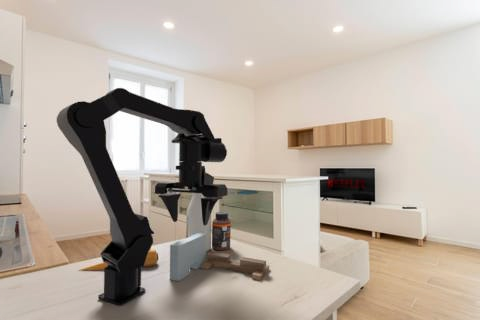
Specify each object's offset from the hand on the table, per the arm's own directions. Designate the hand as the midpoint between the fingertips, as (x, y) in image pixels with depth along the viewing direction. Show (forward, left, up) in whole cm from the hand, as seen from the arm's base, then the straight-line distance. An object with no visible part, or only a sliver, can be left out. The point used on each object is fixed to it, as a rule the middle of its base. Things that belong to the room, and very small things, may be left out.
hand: (189, 223), depth 65 cm
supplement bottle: (+19, +2, -12) cm, 23 cm away
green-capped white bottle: (+15, +7, -12) cm, 21 cm away
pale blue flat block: (0, 0, -12) cm, 12 cm away
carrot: (-6, +18, -12) cm, 23 cm away
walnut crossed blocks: (+6, -10, -12) cm, 17 cm away
